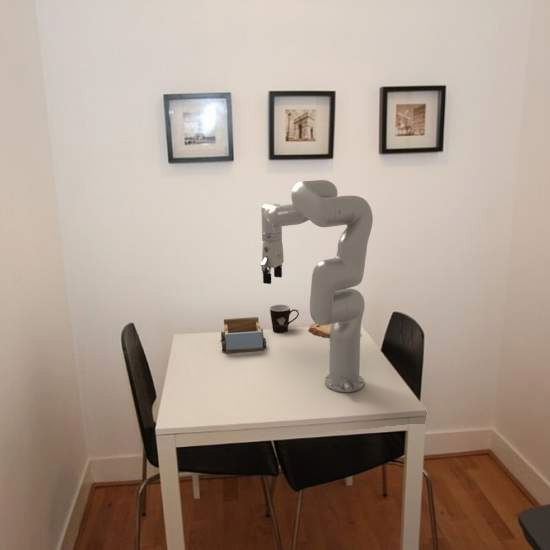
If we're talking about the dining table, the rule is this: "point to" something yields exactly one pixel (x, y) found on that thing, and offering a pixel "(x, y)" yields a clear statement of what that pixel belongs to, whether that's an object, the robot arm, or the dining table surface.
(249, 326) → the truck bed
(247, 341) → the panel
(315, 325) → the bread slice
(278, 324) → the coffee mug
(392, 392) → the dining table surface
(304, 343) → the dining table surface
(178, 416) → the dining table surface
